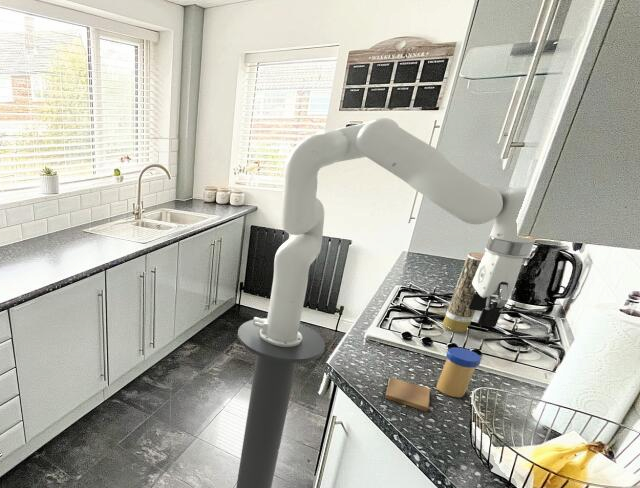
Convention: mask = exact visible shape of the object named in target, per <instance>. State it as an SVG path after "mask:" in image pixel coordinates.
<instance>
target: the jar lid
mask: <svg viewBox="0 0 640 488" xmlns="http://www.w3.org/2000/svg"><path fill="white" fill-rule="evenodd" d="M445 356H446V359H447V358H448V359H449V360H450V361H451V362H453V363H455V364H458V365H461V366H464V367H476V368H477V367H478V366H480V364H481V362H482V357H481V355H480V354H479V353H477V352H475V351H473V350H470V349H467V348H465V347H464V348H463V347H455V346H454V347H450V348H449V349H448V350H447V352H446V355H445Z"/></svg>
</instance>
